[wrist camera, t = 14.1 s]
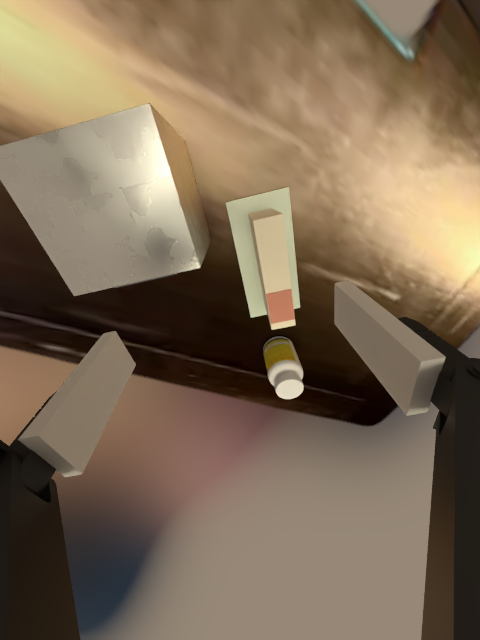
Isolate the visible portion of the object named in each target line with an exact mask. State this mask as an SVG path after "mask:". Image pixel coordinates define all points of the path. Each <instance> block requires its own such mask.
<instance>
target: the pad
mask: <svg viewBox="0 0 480 640" xmlns="http://www.w3.org/2000/svg"><path fill="white" fill-rule="evenodd" d="M226 207H227V211H228V216H229V220H230V225H231V229H232V234H233V238H234V243H235V247H236V252H237V257H238V261H239V266H240V270H241V275H242V279H243V284H244V288H245V293H246V297H247V302H248V306H249V311H250V316H251V318H252V317H257V316H262V315H266V314H267V311H266V308H265V304H264V300H263V295H262V289H261V284H260V278H259V272H258V267H257V261H256V256H255V250H254V245H253V239H252V234H251V228H250V223H249V217H248V213H252V212H256V211H260V210H264V209H268V208H272V209H274V210H276V211H279V212H281V213H283V216H284V225H285V234H286V243H287V253H288V262H289V271H290V280H291V289H292V298H293V307H294V309H296V308H300V300H299V290H298V279H297V268H296V258H295V247H294V236H293V226H292V215H291V204H290V194H289V187H286V188H282V189H278V190H274V191H270V192H266V193H261V194H257V195H253V196H249V197H245V198H241V199H237V200H233V201H229V202H226Z"/></svg>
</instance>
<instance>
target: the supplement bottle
mask: <svg viewBox="0 0 480 640" xmlns="http://www.w3.org/2000/svg"><path fill="white" fill-rule="evenodd" d="M263 353H264V358H265V364H266V368H267V374H268V378H269V381H270V383H271V384H272V385H273V386H275V390H276V393H277V395H278V396H279V397H281V398H283V399H292V398H295V397H297V396H299V395H300V394H301V393H302V391H303V383H302V378H303V370H302V367H301V364H300V362H299V359H298V356H297V354H296V351H295V348H294V346H293V344H292V342H291V341H290V340H289V339H288V338H286V337H282V336H277V337H273V338H271V339H269V340H268V341H267V342H266V343H265V345H264V348H263Z"/></svg>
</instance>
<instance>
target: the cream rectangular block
mask: <svg viewBox="0 0 480 640" xmlns="http://www.w3.org/2000/svg"><path fill="white" fill-rule="evenodd" d="M248 217H249V223H250V228H251V234H252V239H253V245H254V250H255V256H256V261H257V267H258V272H259V278H260V284H261V289H262V295H263V300H264V304H265V308H266V311H267V315H268V318H269V322H270V325H271V329H272V330H274V329H279V328H284V327H289V326H294V325H295V316H294V307H293V298H292V289H291V280H290V271H289V262H288V253H287V243H286V234H285V225H284V216H283V213H281V212H279V211H276V210H274V209H272V208H268V209H264V210H260V211H256V212H252V213H248Z"/></svg>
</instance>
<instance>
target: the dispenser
mask: <svg viewBox="0 0 480 640" xmlns="http://www.w3.org/2000/svg"><path fill="white" fill-rule="evenodd" d="M0 180H1V181H2V183H3V185H4V186H5V188H6V189H7V191H8V192H9V194H10V196H11V197H12V199H13V200H14V202H15V203H16V205H17V207H18V208H19V210H20V211H21V213H22V215H23V216H24V218H25V219H26V221H27V222H28V224H29V226H30V227H31V229H32V230H33V232H34V234H35V235H36V237H37V238H38V240H39V241H40V243H41V245H42V246H43V248H44V249H45V251H46V253H47V254H48V256H49V257H50V259H51V260H52V262H53V264H54V265H55V267H56V268H57V270H58V271H59V273H60V275H61V276H62V278H63V279H64V281H65V283H66V284H67V286H68V287H69V289H70V290H71V292H72V294H73V295H74V296H77V295H82V294H86V293H90V292H95V291H99V290H104V289H108V288H113V287H114V288H118V287H123V286H127V285H132V284H136V283H141V282H145V281H150V280H154V279H158V278H163V277H167V276H172V275H176V274H177V273H179V272H184V271H188V270H193V269H197V268H200V267H201V265H202V262H203V260H204V257H205V255H206V252H207V250H208V247H209V244H210V242H211V236H210V232H209V229H208V225H207V221H206V217H205V214H204V210H203V206H202V202H201V199H200V195H199V191H198V187H197V184H196V180H195V176H194V173H193V169H192V165H191V161H190V158H189V154H188V150H187V146H186V143H185V140H184V139H183V138H182V137H181V136H180V135H179V134H178V133H177V132H176V131H175V130H174V129H173V128H172V127H171V126H170V124H169V123H168V122H167V121H166V120H165V119H164V118H163V117H162V116H161V115H160V114H159V113H158V112H157V111H156V110H155V109H154V108H153V107H152V105H151V104H150V103H149V104H145V105H142V106H138V107H135V108H131V109H128V110H124V111H121V112H117V113H114V114H110V115H107V116H103V117H100V118H96V119H93V120H89V121H86V122H82V123H79V124H75V125H72V126H69V127H65V128H62V129H58V130H55V131H51V132H48V133H44V134H41V135H37V136H34V137H30V138H27V139H23V140H20V141H16V142H13V143H9V144H6V145H2V146H0Z"/></svg>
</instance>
